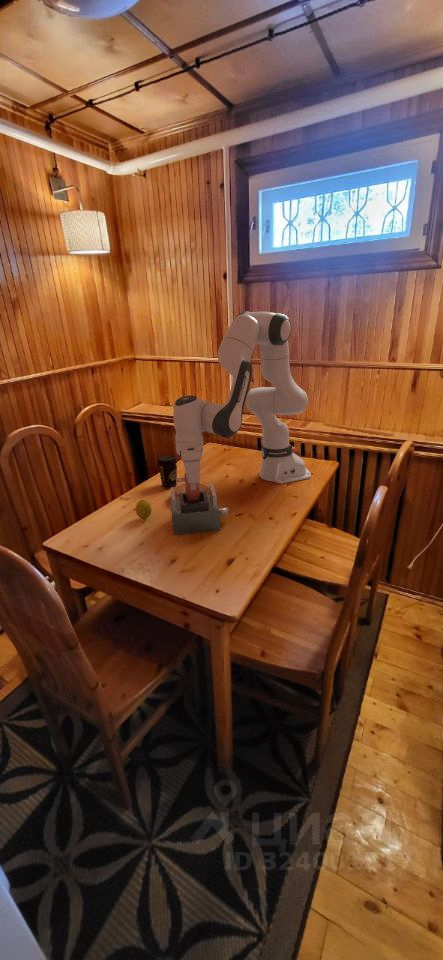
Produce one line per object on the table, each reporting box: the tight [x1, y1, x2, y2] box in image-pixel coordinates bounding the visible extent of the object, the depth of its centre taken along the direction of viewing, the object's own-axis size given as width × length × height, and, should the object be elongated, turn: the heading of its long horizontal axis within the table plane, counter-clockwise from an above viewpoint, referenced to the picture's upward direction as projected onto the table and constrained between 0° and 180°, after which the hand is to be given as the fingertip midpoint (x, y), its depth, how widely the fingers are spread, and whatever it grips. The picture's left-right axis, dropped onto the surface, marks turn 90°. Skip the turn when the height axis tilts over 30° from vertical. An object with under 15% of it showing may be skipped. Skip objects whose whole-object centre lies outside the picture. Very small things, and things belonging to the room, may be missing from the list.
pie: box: [174, 483, 210, 499], centre depth 163 cm, size 16×16×5 cm
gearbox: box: [170, 483, 230, 536], centre depth 143 cm, size 20×12×13 cm, turn 98°
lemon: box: [135, 498, 152, 520], centre depth 149 cm, size 6×6×8 cm
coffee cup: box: [156, 454, 178, 490], centre depth 174 cm, size 9×8×13 cm
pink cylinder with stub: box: [176, 472, 201, 501], centre depth 139 cm, size 8×5×10 cm, turn 98°
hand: (192, 485), depth 139 cm, fingers closed on pink cylinder with stub, 5 cm apart
